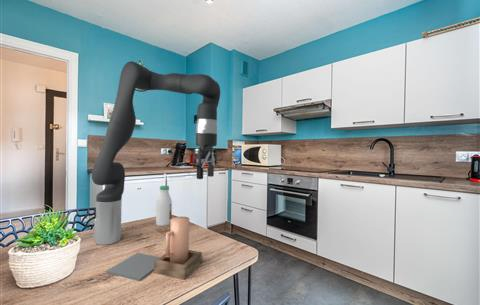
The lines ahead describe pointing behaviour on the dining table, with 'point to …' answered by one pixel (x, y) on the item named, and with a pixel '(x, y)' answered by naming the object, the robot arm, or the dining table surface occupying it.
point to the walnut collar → (178, 266)
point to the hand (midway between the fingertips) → (205, 177)
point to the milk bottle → (164, 207)
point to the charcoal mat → (134, 267)
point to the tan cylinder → (178, 240)
